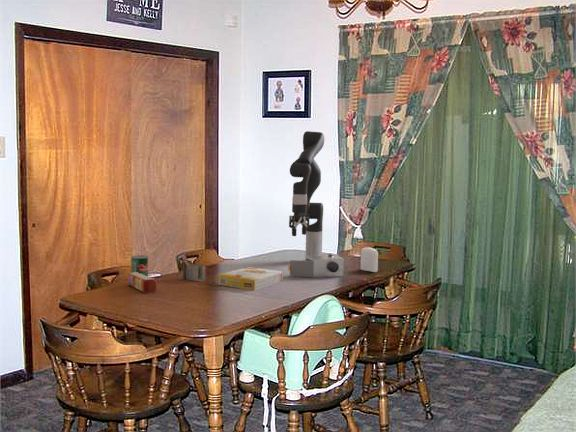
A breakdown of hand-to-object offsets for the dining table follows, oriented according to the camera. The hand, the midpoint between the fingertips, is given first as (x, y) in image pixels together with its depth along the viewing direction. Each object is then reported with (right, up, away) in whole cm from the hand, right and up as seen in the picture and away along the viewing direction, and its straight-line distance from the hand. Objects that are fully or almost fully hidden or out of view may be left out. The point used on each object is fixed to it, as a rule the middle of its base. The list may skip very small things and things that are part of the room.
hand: (299, 235), depth 360 cm
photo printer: (+37, -19, +17) cm, 45 cm away
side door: (+1, -20, -4) cm, 21 cm away
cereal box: (-23, -23, -21) cm, 39 cm away
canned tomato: (-77, -21, -17) cm, 81 cm away
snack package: (-72, -23, -39) cm, 85 cm away
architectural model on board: (-51, -22, -16) cm, 58 cm away
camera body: (+13, -20, +4) cm, 24 cm away
